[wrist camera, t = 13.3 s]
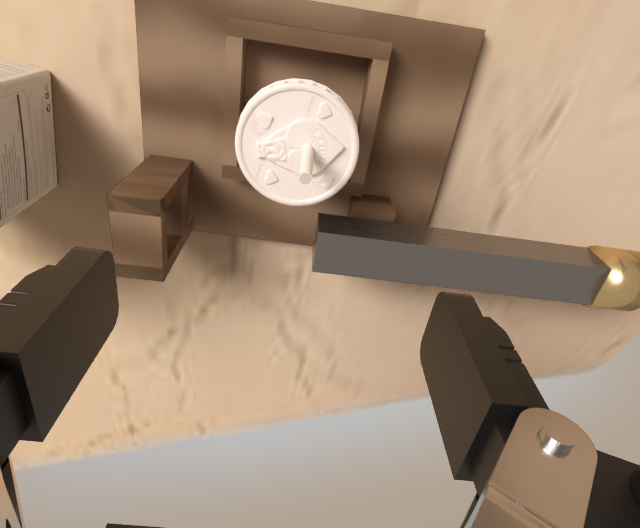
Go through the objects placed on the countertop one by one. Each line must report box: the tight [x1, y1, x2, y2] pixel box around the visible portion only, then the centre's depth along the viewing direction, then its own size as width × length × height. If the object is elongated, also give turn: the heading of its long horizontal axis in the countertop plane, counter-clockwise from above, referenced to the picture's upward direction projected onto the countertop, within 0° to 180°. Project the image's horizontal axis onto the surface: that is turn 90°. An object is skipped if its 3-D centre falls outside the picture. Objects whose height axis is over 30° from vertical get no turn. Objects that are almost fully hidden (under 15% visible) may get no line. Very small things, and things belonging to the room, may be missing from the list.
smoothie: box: [235, 78, 359, 206], centre depth 24 cm, size 6×6×14 cm
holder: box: [107, 0, 485, 282], centre depth 29 cm, size 17×22×9 cm
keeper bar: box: [312, 213, 640, 311], centre depth 31 cm, size 4×23×4 cm, turn 82°
